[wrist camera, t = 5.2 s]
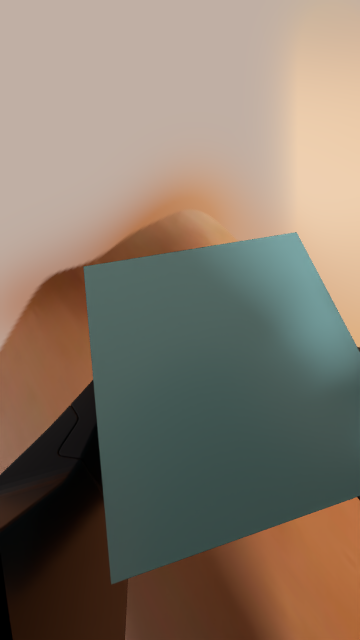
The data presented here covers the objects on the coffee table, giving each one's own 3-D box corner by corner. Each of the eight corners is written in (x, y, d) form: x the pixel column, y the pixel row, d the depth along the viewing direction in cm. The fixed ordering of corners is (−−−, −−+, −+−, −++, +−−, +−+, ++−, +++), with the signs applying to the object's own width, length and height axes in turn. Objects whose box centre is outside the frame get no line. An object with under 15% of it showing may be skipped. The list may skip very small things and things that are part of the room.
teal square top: (242, 413, 12) (423, 473, 3) (155, 437, 11) (111, 584, 3) (217, 329, 14) (296, 232, 5) (140, 346, 13) (83, 266, 4)
